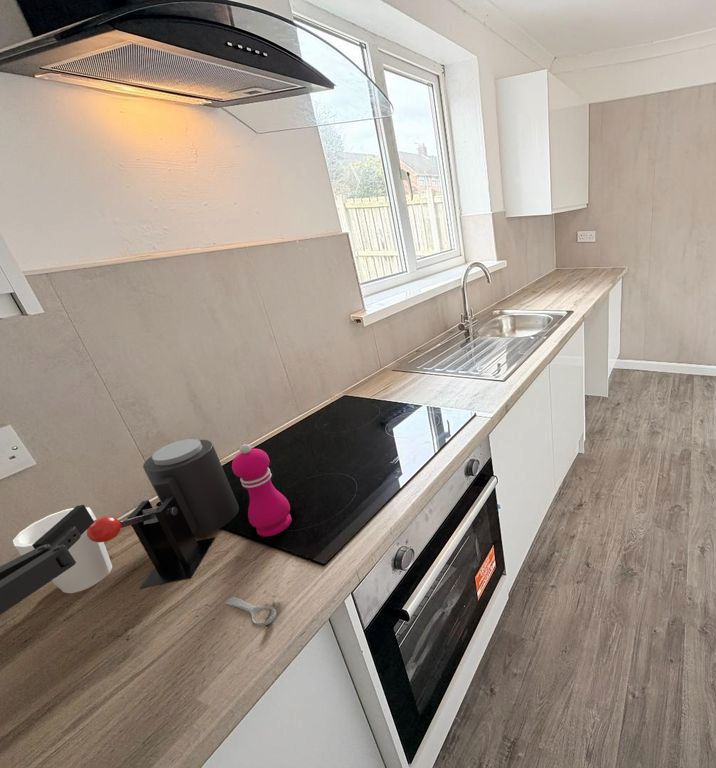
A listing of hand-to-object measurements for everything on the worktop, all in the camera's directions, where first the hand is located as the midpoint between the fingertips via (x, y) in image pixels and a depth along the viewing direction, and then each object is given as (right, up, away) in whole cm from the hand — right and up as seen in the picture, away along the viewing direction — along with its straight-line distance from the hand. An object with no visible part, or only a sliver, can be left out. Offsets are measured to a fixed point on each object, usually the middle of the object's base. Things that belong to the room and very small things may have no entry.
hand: (20, 525), depth 49 cm
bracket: (-2, -17, +27) cm, 32 cm away
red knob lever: (-2, -7, +16) cm, 18 cm away
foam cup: (-17, -19, +25) cm, 36 cm away
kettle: (-5, -12, +38) cm, 40 cm away
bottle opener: (+17, -20, +17) cm, 31 cm away
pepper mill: (+11, -13, +34) cm, 38 cm away
